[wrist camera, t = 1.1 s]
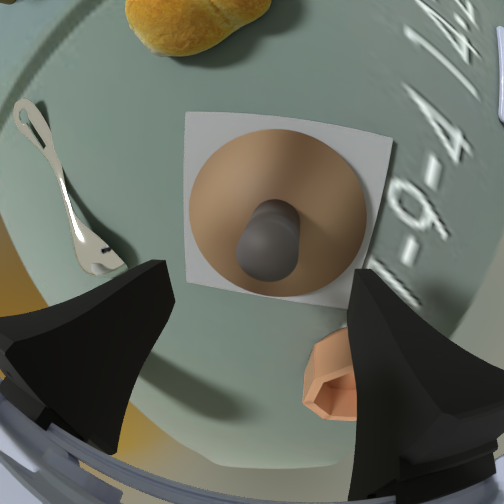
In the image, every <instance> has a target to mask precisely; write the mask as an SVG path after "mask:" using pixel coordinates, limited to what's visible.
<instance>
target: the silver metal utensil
mask: <svg viewBox="0 0 504 504" xmlns="http://www.w3.org/2000/svg"><path fill="white" fill-rule="evenodd" d="M23 108H24V109H26V110H27V112H28V118H29V120H30V121H31V123H32V124H33V126H34V128H35V129H36V131H37V132H38V134H39V135H40V137H41V138H42V140H43V141H44V143H45V144H46V147H45V148H43V147H42V145H41V144H40V142H39V141H38V139H37V138H36V136H35V134H34V133H33V131H32V130H31V128H30V127H29V125H28V123H23V122H22V121H21V118H20V113H21V110H22V109H23ZM14 121H15V123H16V125H17V127H18V128H19V130H20V131H21V132H22V134H23V135H24V136H25V137H26V138H27V139H28V140H29V141H30V142H31V143H32V144H33V145H34V146H35V147H36V148H37V149H38V150H39V151H40V152H41V153H42V154H43V156H44V157H45V158H46V159H47V161H48V162H49V164H50V166H51V167H52V169H53V171H54V174H55V176H56V178H57V181H58V184H59V187H60V191H61V194H62V198H63V202H64V206H65V210H66V214H67V218H68V223H69V228H70V233H71V239H72V245H73V250H74V254H75V257H76V260H77V262H78V264H79V266H80V267H81V268H82V270H83V271H84V272H86V273H87V274H89V275H90V276H93V277H97V278H113V277H117V276H119V275H121V274H123V273H125V272H126V271H127V270H128V267H127V265H126V263H125V262H124V261H123V260H122V259H121V258H120V257H119V256H118V255H117V254H116V253H115V252H114V251H113V250H112V249H111V248H110V247H109V246H108V245H107V244H106V243H105V242H104V241H103V240H102V239H101V238H100V237H98V236H97V235H96V234H95V233H94V232H92V231H91V230H90V229H89V228H88V227H86V226H85V225H84V224H83V223H82V222H81V221H80V219H79V218H78V217H77V215H76V213H75V211H74V209H73V207H72V204H71V202H70V198H69V195H68V191H67V187H66V182H65V178H64V173H63V169H62V165H61V163H60V161H59V159H58V157H57V155H56V152H55V149H54V145H53V141H52V135H51V131H50V129H49V127H48V125H47V123H46V121H45V119H44V117H43V115H42V114H41V112H40V111H39V109H38V108H37V107H36V105H35V104H34V103H33V102H32V101H31V100H29V99H27V98H23V99H21V100H19V101H17V102H16V103H15V106H14Z"/></svg>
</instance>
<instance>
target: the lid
mask: <svg viewBox="0 0 504 504" xmlns="http://www.w3.org/2000/svg"><path fill="white" fill-rule="evenodd" d="M189 219H190V225H191V230H192V233H193V236H194V239H195V242H196V244H197V246H198V248H199V250H200V252H201V253H202V255H203V256H204V258H205V259H206V260H207V262H208V263H209V264H210V265H211V266H212V268H213V269H215V270H216V271H217V272H218V273H219V274H220V275H221V276H222V277H224V278H225V279H226V280H228V281H229V282H231V283H233V284H234V285H236V286H238V287H240V288H242V289H244V290H247V291H250V292H253V293H256V294H260V295H265V296H272V297H291V296H299V295H303V294H307V293H310V292H313V291H316V290H318V289H320V288H322V287H324V286H326V285H328V284H329V283H331V282H332V281H334V280H335V279H336V278H338V277H339V276H340V275H341V274H342V273H343V272H344V271H345V270H346V269H347V268H348V267H349V266H350V264H351V263H352V262H353V260H354V259H355V257H356V255H357V253H358V252H359V250H360V248H361V245H362V242H363V239H364V235H365V230H366V222H367V211H366V202H365V198H364V194H363V191H362V188H361V186H360V183H359V181H358V179H357V177H356V176H355V174H354V172H353V170H352V169H351V168H350V166H349V165H348V164H347V163H346V161H345V160H344V159H343V158H342V157H341V156H340V155H339V154H338V153H337V152H336V151H334V150H333V149H332V148H331V147H329V146H328V145H326V144H325V143H324V142H322V141H320V140H318V139H316V138H314V137H312V136H309V135H307V134H304V133H301V132H297V131H292V130H285V129H268V130H260V131H255V132H251V133H247V134H245V135H242V136H240V137H237V138H235V139H233V140H231V141H229V142H228V143H226V144H224V145H223V146H222V147H220V148H219V149H218V150H217V151H215V152H214V153H213V154H212V155H211V156H210V158H209V159H208V160H207V161H206V162H205V164H204V165H203V166H202V168H201V169H200V171H199V173H198V175H197V177H196V179H195V181H194V184H193V187H192V190H191V195H190V201H189Z"/></svg>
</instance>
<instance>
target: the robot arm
mask: <svg viewBox="0 0 504 504" xmlns="http://www.w3.org/2000/svg"><path fill="white" fill-rule="evenodd" d="M496 30H497V38H498V49H499V65H500V95H499V112H498V114H499V119H500V120H501V121H502V122H503V123H504V28H503V27H501V26H498V27H497V29H496ZM174 304H175V298H174V294H173V290H172V286H171V282H170V277H169V273H168V269H167V265H166V260H150V261H147V262H145V263H143V264H141V265H139V266H137V267H135V268H133V269H131V270H129V271H127V272H125V273H123V274H121V275H119V276H118V277H116V278H114V279H112V280H110V281H108V282H106V283H104V284H102V285H100V286H98V287H96V288H94V289H92V290H90V291H88V292H86V293H84V294H82V295H80V296H77V297H75V298H73V299H70V300H68V301H65V302H62V303H59V304H56V305H53V306H50V307H48V308H45V309H41V310H37V311H33V312H29V313H25V314H19V315H14V316H6V317H0V369H1V371H2V372H3V373H4V375H5V376H6V377H5V379H4V380H2V379H1V378H0V504H122V503H120V500H121V497H122V495H123V492H122V491H121V490H119V489H117V488H115V487H113V486H111V485H109V484H108V483H106V482H104V481H102V480H101V479H98V478H97V477H95V476H94V475H92V474H91V473H89V472H87V471H86V470H84V469H83V468H81V467H80V465H79V461H78V460H80V461H82V462H83V463H85V464H86V465H88V466H90V467H92V468H94V469H95V470H97V471H99V472H101V473H103V474H105V475H107V476H108V477H110V478H113V479H114V480H117V481H119V482H121V483H123V484H125V485H127V486H129V487H132V488H134V489H136V490H139V491H141V492H144V493H146V494H149V495H151V496H154V497H156V498H159V499H162V500H165V501H168V502H171V503H174V504H504V454H503V455H502V456H500V457H498V458H496V459H495V460H494V456H493V452H495V451H496V450H497V449H498V444H497V438H498V437H499V436H500V435H501V434H503V433H504V370H503V369H500V368H498V367H496V366H493V365H491V364H489V363H487V362H486V361H484V360H482V359H480V358H478V357H476V356H474V355H473V354H471V353H469V352H468V351H466V350H464V349H463V348H461V347H460V346H458V345H457V344H455V343H454V342H452V341H450V340H449V339H448V338H446V337H445V336H443V335H442V334H441V333H439V332H438V331H437V330H436V329H434V328H433V327H432V326H430V325H429V324H428V323H427V322H426V321H424V320H423V319H422V318H421V317H420V316H419V315H417V314H416V313H415V312H414V311H413V310H412V309H411V308H410V307H409V306H408V305H407V304H406V303H404V302H403V301H402V300H401V299H400V298H399V297H398V296H397V295H396V294H395V293H394V292H393V291H392V290H391V289H390V288H389V287H388V286H387V284H386V283H385V282H384V281H383V280H382V279H381V278H380V277H379V276H378V275H377V274H376V273H375V272H374V271H372V270H371V269H355V270H354V276H353V282H352V288H351V294H350V299H349V305H348V310H347V326H348V338H349V345H350V351H351V357H352V363H353V369H354V376H355V383H356V393H357V425H356V443H355V455H354V464H353V472H352V478H351V484H350V490H349V495H348V501H347V502H328V503H302V502H281V501H268V500H260V499H252V498H245V497H239V496H232V495H227V494H222V493H217V492H213V491H208V490H204V489H200V488H196V487H192V486H188V485H185V484H182V483H178V482H175V481H172V480H169V479H166V478H163V477H160V476H157V475H154V474H152V473H149V472H146V471H144V470H141V469H139V468H136V467H134V466H131V465H129V464H127V463H124V462H122V461H120V460H118V459H116V458H113V457H111V456H109V455H113V454H115V453H116V452H117V447H118V442H119V436H120V431H121V427H122V423H123V419H124V415H125V411H126V408H127V405H128V402H129V399H130V396H131V393H132V390H133V387H134V385H135V382H136V380H137V377H138V375H139V372H140V370H141V368H142V366H143V364H144V362H145V360H146V358H147V357H148V355H149V353H150V351H151V350H152V348H153V346H154V344H155V343H156V341H157V339H158V337H159V336H160V334H161V332H162V330H163V329H164V327H165V325H166V323H167V322H168V319H169V317H170V314H171V312H172V309H173V307H174Z"/></svg>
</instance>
